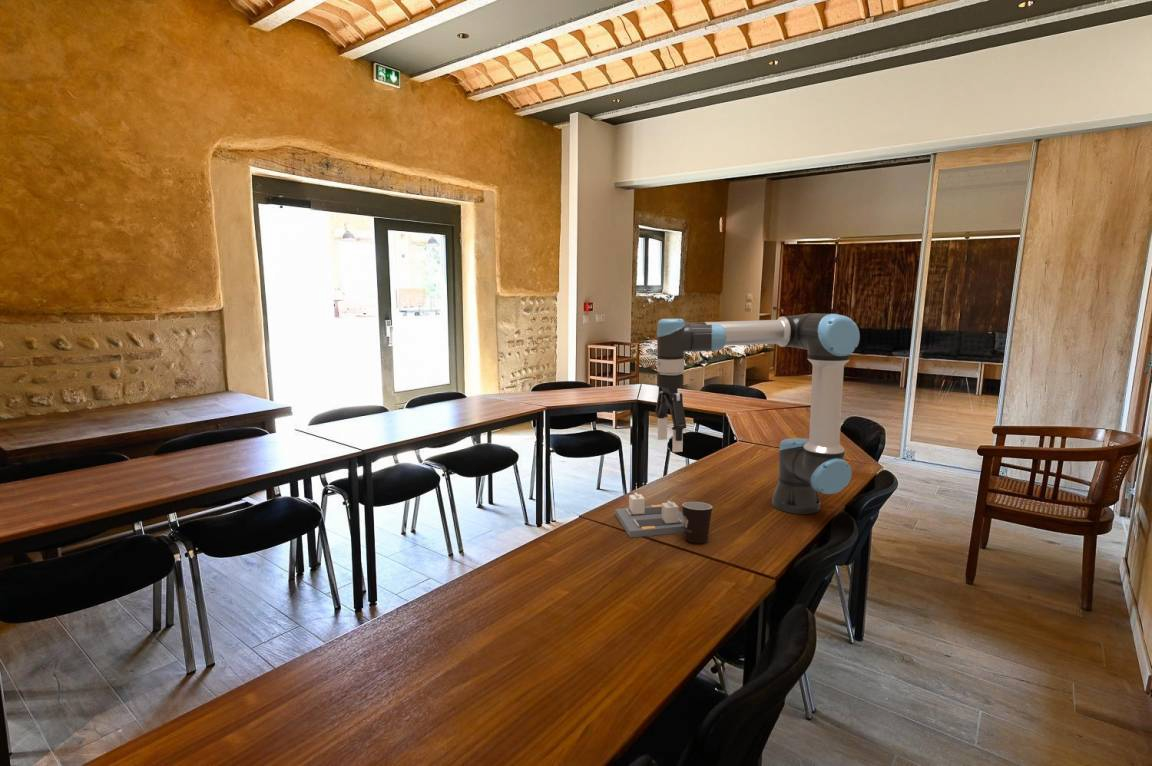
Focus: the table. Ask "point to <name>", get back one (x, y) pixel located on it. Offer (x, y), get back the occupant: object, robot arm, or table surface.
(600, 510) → the table surface
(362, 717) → the table surface
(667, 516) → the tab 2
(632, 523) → the switch board
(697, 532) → the coffee mug
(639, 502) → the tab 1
